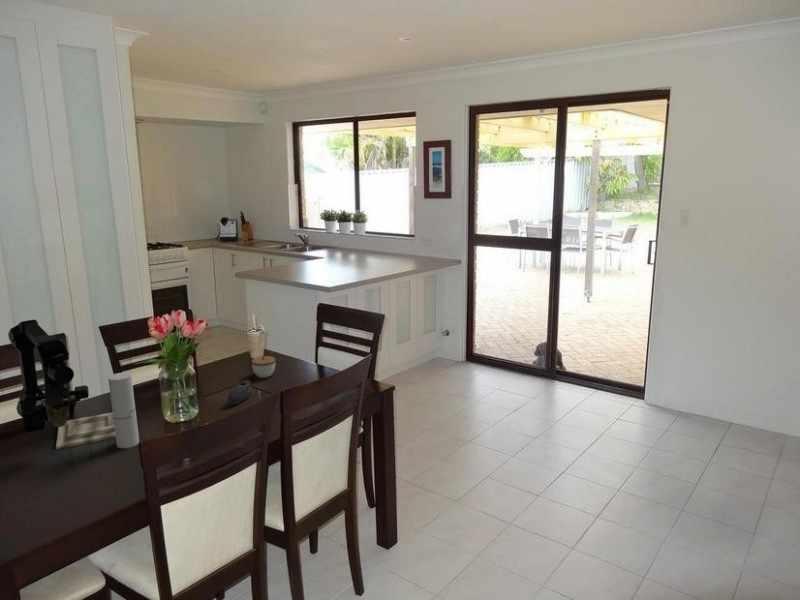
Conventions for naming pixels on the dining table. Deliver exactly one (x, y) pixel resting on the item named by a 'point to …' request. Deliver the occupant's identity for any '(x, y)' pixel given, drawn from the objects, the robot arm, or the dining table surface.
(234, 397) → the perforated stone tool
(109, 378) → the cylindrical container
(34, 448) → the dining table surface
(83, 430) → the docking plate
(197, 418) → the dining table surface
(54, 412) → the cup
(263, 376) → the lidded jar
